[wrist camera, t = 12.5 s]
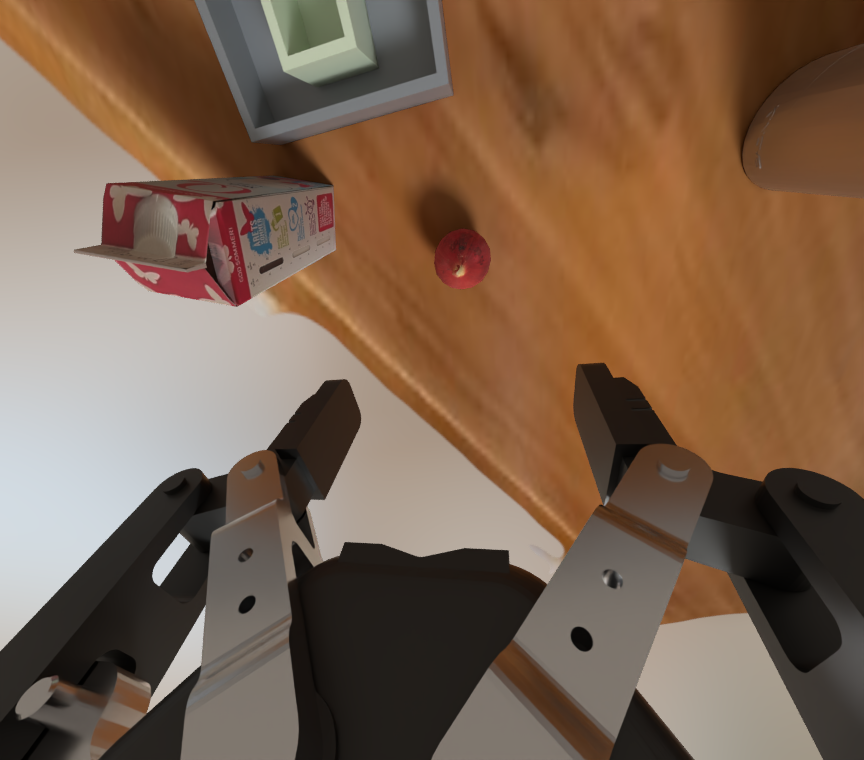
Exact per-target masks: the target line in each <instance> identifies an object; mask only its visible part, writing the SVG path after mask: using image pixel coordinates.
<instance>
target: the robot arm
mask: <svg viewBox="0 0 864 760" xmlns="http://www.w3.org/2000/svg"><path fill="white" fill-rule="evenodd" d="M742 157H743V167H744V169H745V172H746V175H747V176H748V177H749V179H750V180H751V181H752V182H753V183H754V184H756V185H757V186H759V187H761V188H764V189H768V190H775V191H786V192H798V193H807V194H819V195H831V196H842V197H854V198H864V43H863V44H860V45H857V46H854V47H850V48H847V49H844V50H841V51H838V52H835V53H832V54H829V55H826V56H824V57H821V58H819V59H817V60H815V61H812V62H810V63H809V64H807V65H805V66H804V67H802V68H801V69H799V70H798V71H796V72H795V73H793V74H792V75H791V76H790V77H789V78H787V79H786V80H785V81H784V82H783V83H781V84H780V85H779V86H778V87H777V88H776V90H775V91H774V92H773V93H772V94H771V95H770V96H769V97H768V98H767V99H766V101H765V102H764V104H763V105H762V106H761V108H760V109H759V111H758V112H757V114H756V115H755V117H754V119H753V121H752V123H751V125H750V127H749V129H748V132H747V135H746V138H745V141H744V146H743V153H742ZM573 406H574V417H575V421H576V424H577V427H578V430H579V433H580V436H581V439H582V442H583V445H584V448H585V451H586V454H587V457H588V460H589V463H590V466H591V469H592V472H593V475H594V478H595V481H596V484H597V487H598V490H599V493H600V496H601V499H602V502H603V505H604V506H603V505H599V506H598V507H597V508H596V509H595V511H594V512H593V514H592V515H591V517H590V518H589V520H588V521H587V523H586V525H585V526H584V528H583V529H582V531H581V533H580V534H579V536H578V537H577V539H576V540H575V542H574V544H573V545H572V547H571V548H570V550H569V551H568V553H567V555H566V556H565V558H564V559H563V561H562V562H561V564H560V566H559V567H558V569H557V570H556V572H555V573H554V575H553V577H552V578H551V580H550V581H549V583H548V585H547V584H546V583H545V582H544V581H542V580H541V579H540V578H538V577H536V576H535V575H533V574H532V573H530V572H528V571H526V570H524V569H522V568H519V567H517V566H514V565H511V564H509V551H508V550H489V549H469V548H464V549H459V550H454V551H450V552H445V553H440V554H436V555H430V556H426V557H417V556H414V555H411V554H408V553H406V552H403V551H400V550H397V549H394V548H391V547H389V546H386V545H383V544H370V543H351V542H345V543H344V546H343V548H342V551H341V554H340V556H337V557H334V558H331V559H328V560H326V561H324V562H323V559H322V556H321V553H320V549H319V545H318V541H317V537H316V533H315V529H314V525H313V521H312V517H311V513H310V510H309V508H308V507H307V505H308V503H309V502H310V500H311V499H316V500H325V498H326V496H327V494H328V492H329V490H330V488H331V486H332V484H333V482H334V480H335V478H336V475H337V473H338V471H339V469H340V467H341V465H342V463H343V461H344V459H345V457H346V455H347V453H348V451H349V448H350V446H351V444H352V442H353V440H354V438H355V436H356V434H357V432H358V430H359V428H360V424H361V414H360V410H359V407H358V405H357V402H356V399H355V397H354V394H353V391H352V389H351V386H350V384H349V382H348V381H347V380H345V379H343V380H329V381H325V382H324V383H323V384H322V386H321V387H320V389H319V390H318V391H317V392H316V394H314V395H312V396H311V397H310V398H308V399H307V400H306V401H304V402H303V403H302V404H301V405H300V407H299V408H298V409H297V411H296V412H295V415H293V416H292V417H291V419H290V420H289V423H287V424H286V425H285V426H284V428H283V429H282V430H281V432H280V433H279V434H278V436H277V437H276V438H275V440H274V441H273V442H272V443H271V445H270V446H269V447H268V449H267V450H262V451H258V452H254V453H252V454H250V455H248V456H246V457H244V458H243V459H241V460H240V461H239V462H238V463H237V464H235V465H234V466H233V468H232V469H231V470H230V472H229V474H226V475H222V476H218V477H214V478H211V479H208V478H207V477H206V476H205V475H204V474H203V472H202V471H201V470H200V469H196V468H192V469H187V470H183V471H181V472H178V473H176V474H174V475H173V476H171V477H169V478H168V479H166V480H165V481H163V482H162V483H161V484H160V485H159V486H158V487H157V488H156V489H155V490H154V491H153V492H152V493H151V494H150V495H149V496H148V497H147V498H146V499H145V500H144V502H142V503H141V505H139V507H138V508H137V509H136V510H135V511H134V512H133V513H132V514H131V515H130V516H129V517H128V518H127V519H126V520H125V521H124V522H123V523H122V524H121V526H120V527H119V528H118V529H117V530H116V531H115V532H114V533H113V534H112V535H111V536H110V537H109V538H108V539H107V540H106V541H105V542H104V543H103V544H102V545H101V546H100V547H99V549H98V550H97V551H96V552H95V553H94V554H93V555H92V556H91V557H90V558H89V559H88V560H87V561H86V562H85V563H84V564H83V565H82V566H81V567H80V568H79V570H78V571H77V572H76V573H75V574H74V575H73V576H72V577H71V578H70V579H69V580H68V581H67V582H66V583H65V584H64V585H63V586H62V587H61V588H60V589H59V590H58V592H57V593H56V594H55V595H54V596H53V597H52V598H51V599H50V600H49V601H48V602H47V603H46V604H45V605H44V606H43V607H42V608H41V609H40V611H38V613H37V614H36V615H35V616H34V617H33V618H32V619H31V620H30V621H29V622H28V623H27V624H26V625H25V626H24V627H23V628H22V629H21V630H20V631H19V632H18V633H17V635H16V636H15V637H14V638H13V639H12V640H11V641H10V642H9V643H8V644H7V645H6V646H5V647H4V648H3V649H2V650H1V651H0V760H694V759H693V757H692V756H691V755H690V754H689V753H688V751H687V750H686V749H685V748H684V746H683V745H682V744H681V743H680V742H679V740H678V739H677V738H676V737H675V735H674V734H673V733H672V732H671V731H670V729H669V728H668V727H667V726H666V724H665V723H664V722H663V721H662V719H661V718H660V717H659V716H658V715H657V713H656V712H655V711H654V710H653V708H652V707H651V706H650V705H649V704H648V702H647V701H646V700H645V699H644V697H643V696H642V695H641V694H640V693H639V692H638V690H637V689H636V686H637V683H638V680H639V678H640V675H641V673H642V670H643V667H644V664H645V662H646V659H647V657H648V654H649V651H650V649H651V646H652V644H653V641H654V638H655V635H656V633H657V630H658V628H659V625H660V623H661V620H662V617H663V615H664V612H665V609H666V607H667V604H668V602H669V599H670V596H671V594H672V591H673V588H674V586H675V583H676V581H677V578H678V575H679V573H680V570H681V567H682V565H683V562H684V559H688V560H691V561H694V562H697V563H701V564H704V565H707V566H710V567H713V568H716V569H719V570H722V571H725V572H727V573H728V575H729V577H730V579H731V581H732V583H733V585H734V587H735V588H736V590H737V592H738V594H739V596H740V598H741V600H742V602H743V604H744V606H745V608H746V610H747V612H748V614H749V616H750V618H751V620H752V622H753V624H754V625H755V627H756V629H757V631H758V633H759V635H760V637H761V639H762V641H763V643H764V645H765V647H766V649H767V651H768V653H769V655H770V657H771V658H772V661H773V662H774V664H775V666H776V668H777V670H778V672H779V674H780V676H781V678H782V680H783V682H784V684H785V686H786V688H787V690H788V692H789V694H790V696H791V697H792V699H793V701H794V703H795V705H796V707H797V709H798V711H799V713H800V715H801V717H802V718H803V721H804V723H805V725H806V727H807V729H808V731H809V733H810V734H811V737H812V738H813V740H814V742H815V744H816V746H817V748H818V750H819V752H820V754H821V756H822V758H823V760H864V499H863V498H862V497H861V496H859V495H858V494H857V493H856V492H854V491H853V490H852V489H850V488H848V487H847V486H845V485H843V484H842V483H840V482H838V481H836V480H834V479H831V478H829V477H827V476H824V475H821V474H818V473H815V472H812V471H808V470H803V469H796V468H781V469H776V470H773V471H771V472H770V473H768V474H767V476H766V477H765V479H764V481H763V482H761V481H756V480H752V479H747V478H742V477H737V476H733V475H728V474H724V473H720V472H716V471H713V470H711V468H710V467H709V465H708V464H707V463H706V462H705V461H704V460H703V459H702V458H701V457H699V456H698V455H696V454H695V453H693V452H691V451H689V450H687V449H684V448H682V447H679V446H677V445H676V444H675V442H674V441H673V439H672V438H671V436H670V435H669V433H668V432H667V430H666V429H665V427H664V426H663V424H662V423H661V421H660V419H659V418H658V416H657V415H656V413H655V412H654V410H652V407H651V406H650V404H649V403H648V401H647V400H645V397H644V395H643V394H642V392H641V391H640V389H639V388H638V386H636V385H635V384H633V383H632V382H630V381H629V380H627V379H626V378H624V377H620V378H613V376H612V375H611V373H610V371H609V369H608V368H607V366H606V364H605V363H592V364H578V366H577V369H576V380H575V392H574V405H573ZM179 533H180V534H181V535H182V536H183V537H185V539H187V540H188V541H189V542H190V543H191V544H190V545H189V546H188V548H187V549H186V551H185V552H184V553H183V555H182V556H181V558H180V559H179V560H178V562H177V563H176V565H175V566H174V567H173V569H172V570H171V572H170V573H169V574H168V576H167V577H166V578H165V580H164V581H163V582H162V584H161V585H160V587H159V586H158V585H156V584H155V583H154V581H153V578H152V572H153V569H154V566H155V564H156V563H157V561H158V560H159V559H160V557H161V556H162V555H163V553H164V552H165V551H166V549H167V548H168V547H169V546H170V544H171V543H172V542H173V540H174V539H175V538H176V537H177V535H178V534H179ZM205 605H206V610H205V623H204V636H203V650H202V663H201V666H200V667H199V668H197V669H196V670H195V671H194V672H193V673H192V674H191V675H190V676H188V677H187V678H186V679H185V680H184V681H183V682H182V683H181V684H179V685H178V686H177V687H176V688H175V689H174V690H173V691H172V692H171V693H169V694H168V695H167V696H166V697H165V698H164V699H163V700H162V701H161V702H159V703H158V704H157V705H156V706H155V707H154V708H153V709H152V710H151V711H149V712H148V713H146V712H147V710H148V707H149V703H150V699H151V697H152V695H153V694H154V692H155V690H156V688H157V687H158V685H159V683H160V682H161V680H162V678H163V676H164V675H165V673H166V671H167V670H168V668H169V666H170V665H171V663H172V661H173V660H174V658H175V656H176V654H177V653H178V651H179V649H180V648H181V646H182V644H183V643H184V641H185V639H186V637H187V636H188V634H189V632H190V631H191V629H192V627H193V626H194V624H195V622H196V620H197V619H198V617H199V615H200V613H201V612H202V610H203V608H204V607H205Z"/></svg>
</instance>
